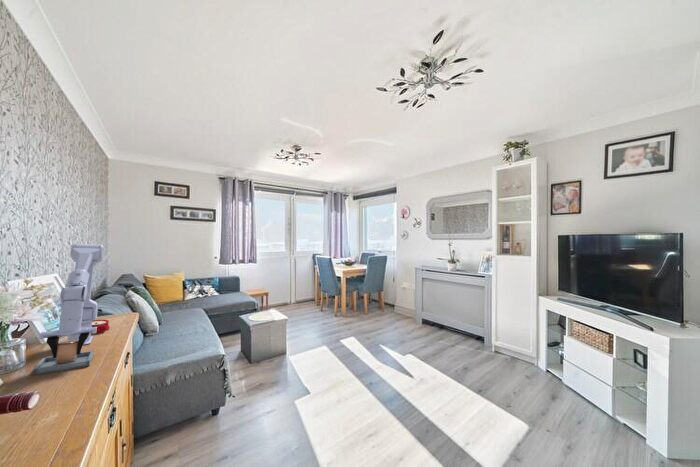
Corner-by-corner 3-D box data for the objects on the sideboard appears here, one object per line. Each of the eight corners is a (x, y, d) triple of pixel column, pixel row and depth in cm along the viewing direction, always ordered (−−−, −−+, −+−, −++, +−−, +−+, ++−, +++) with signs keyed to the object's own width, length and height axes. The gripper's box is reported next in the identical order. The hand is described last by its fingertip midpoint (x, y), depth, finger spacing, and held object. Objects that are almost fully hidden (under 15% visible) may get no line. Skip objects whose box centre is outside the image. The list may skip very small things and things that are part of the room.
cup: (57, 359, 98) (59, 341, 99) (78, 356, 102) (80, 338, 102) (53, 365, 94) (55, 346, 94) (75, 361, 97) (77, 343, 98)
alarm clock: (112, 318, 141) (107, 319, 129) (110, 331, 140) (105, 333, 128) (85, 320, 135) (77, 321, 123) (83, 333, 134) (75, 336, 122)
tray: (42, 362, 98) (43, 357, 98) (93, 355, 106) (93, 350, 106) (33, 375, 89) (33, 369, 89) (89, 366, 98) (89, 360, 98)
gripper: (38, 323, 91) (33, 363, 90) (96, 318, 100) (92, 355, 99) (44, 318, 96) (40, 356, 96) (98, 314, 105) (95, 348, 105)
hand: (66, 355), depth 98 cm, fingers closed on cup, 5 cm apart
